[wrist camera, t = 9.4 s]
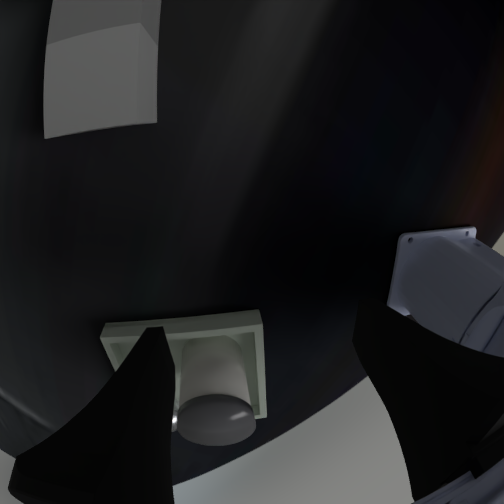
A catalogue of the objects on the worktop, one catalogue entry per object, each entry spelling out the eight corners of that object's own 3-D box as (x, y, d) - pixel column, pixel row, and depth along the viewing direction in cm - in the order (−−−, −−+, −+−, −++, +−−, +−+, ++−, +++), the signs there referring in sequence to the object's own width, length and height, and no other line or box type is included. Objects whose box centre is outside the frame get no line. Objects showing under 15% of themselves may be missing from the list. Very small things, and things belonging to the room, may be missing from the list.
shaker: (241, 329, 22) (255, 403, 16) (244, 373, 24) (256, 442, 18) (175, 334, 21) (168, 409, 15) (186, 377, 23) (185, 447, 17)
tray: (258, 308, 22) (262, 323, 20) (263, 403, 27) (266, 417, 26) (105, 322, 21) (99, 337, 19) (147, 412, 26) (145, 425, 24)
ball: (181, 386, 24) (180, 418, 21) (189, 408, 25) (189, 438, 22) (144, 388, 24) (139, 418, 20) (154, 409, 25) (151, 438, 22)
